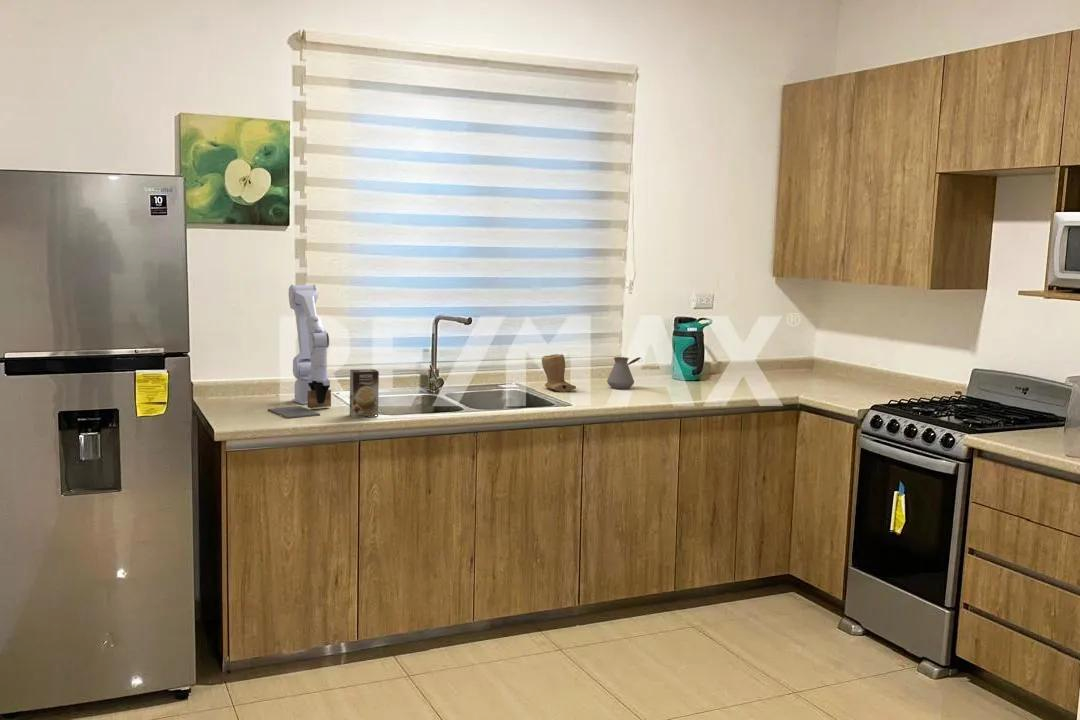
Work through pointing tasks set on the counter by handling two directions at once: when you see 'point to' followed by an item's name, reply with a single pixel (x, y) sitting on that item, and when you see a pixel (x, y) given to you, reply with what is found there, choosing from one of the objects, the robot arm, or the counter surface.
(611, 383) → the coffee pot
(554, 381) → the brown suede boot
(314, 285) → the robot arm
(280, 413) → the mat
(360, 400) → the coffee box
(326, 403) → the slab
